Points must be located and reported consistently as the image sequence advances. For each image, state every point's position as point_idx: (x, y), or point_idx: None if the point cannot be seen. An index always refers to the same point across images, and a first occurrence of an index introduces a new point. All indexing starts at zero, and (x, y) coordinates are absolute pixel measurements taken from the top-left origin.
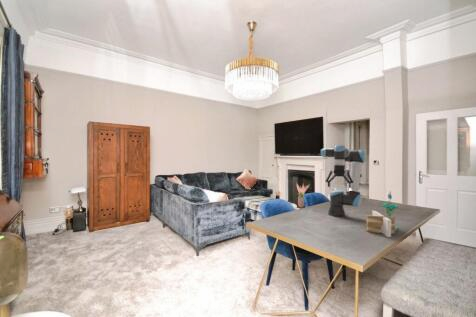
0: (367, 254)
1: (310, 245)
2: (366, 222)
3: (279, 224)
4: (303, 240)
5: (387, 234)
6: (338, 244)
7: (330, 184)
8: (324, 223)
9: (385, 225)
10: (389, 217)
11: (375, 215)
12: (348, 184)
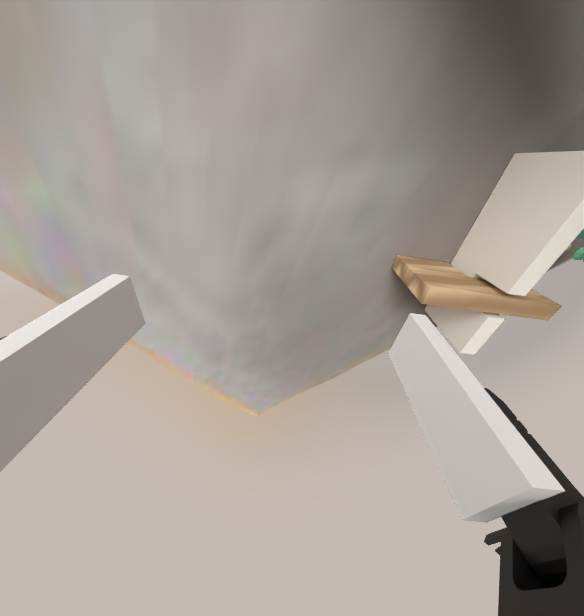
0: (286, 391)
1: (172, 364)
2: (411, 271)
3: (8, 196)
4: (151, 342)
5: (428, 314)
6: (240, 358)
7: (30, 430)
8: (235, 150)
9: (451, 320)
10: (523, 316)
11: (543, 220)
12: (455, 493)
